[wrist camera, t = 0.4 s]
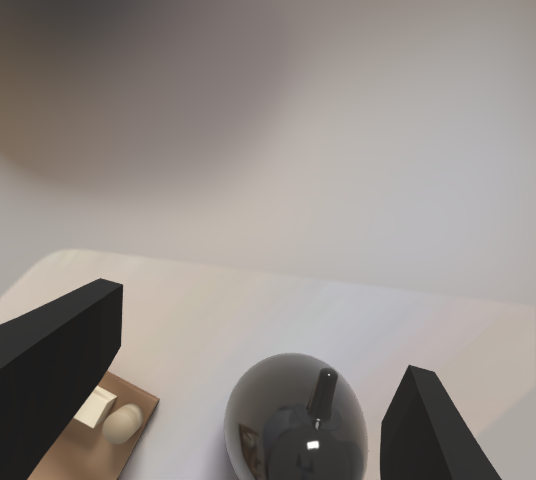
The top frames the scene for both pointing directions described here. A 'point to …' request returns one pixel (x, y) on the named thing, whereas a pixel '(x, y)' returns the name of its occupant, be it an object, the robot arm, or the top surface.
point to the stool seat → (99, 438)
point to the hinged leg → (96, 407)
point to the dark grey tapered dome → (295, 422)
